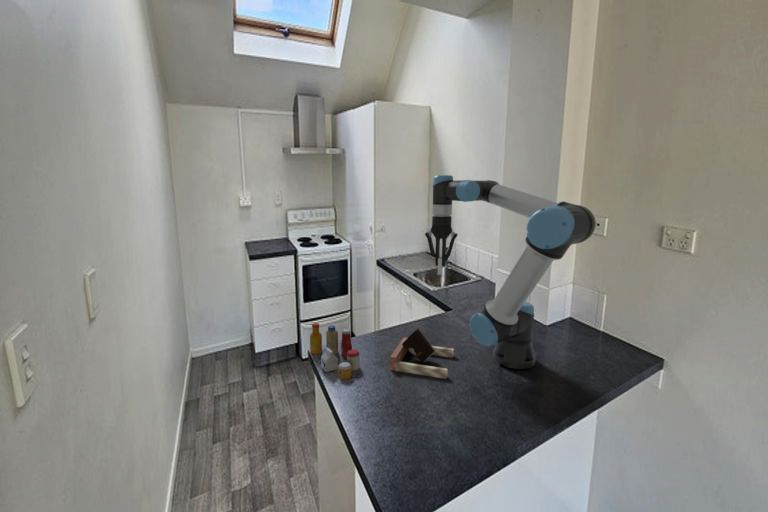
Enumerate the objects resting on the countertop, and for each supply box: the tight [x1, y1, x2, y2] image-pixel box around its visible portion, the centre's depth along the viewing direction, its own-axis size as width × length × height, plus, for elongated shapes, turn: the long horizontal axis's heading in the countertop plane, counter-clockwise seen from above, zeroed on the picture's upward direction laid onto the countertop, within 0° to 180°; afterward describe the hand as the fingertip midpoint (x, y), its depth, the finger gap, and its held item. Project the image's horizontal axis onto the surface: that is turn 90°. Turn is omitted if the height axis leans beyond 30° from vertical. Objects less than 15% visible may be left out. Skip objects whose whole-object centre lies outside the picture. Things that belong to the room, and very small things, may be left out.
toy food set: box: [309, 322, 361, 380], centre depth 137 cm, size 27×13×12 cm, turn 32°
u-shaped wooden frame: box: [389, 337, 455, 379], centre depth 137 cm, size 20×18×5 cm
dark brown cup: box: [402, 328, 435, 364], centre depth 140 cm, size 12×9×10 cm
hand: (440, 273), depth 150 cm, fingers closed
